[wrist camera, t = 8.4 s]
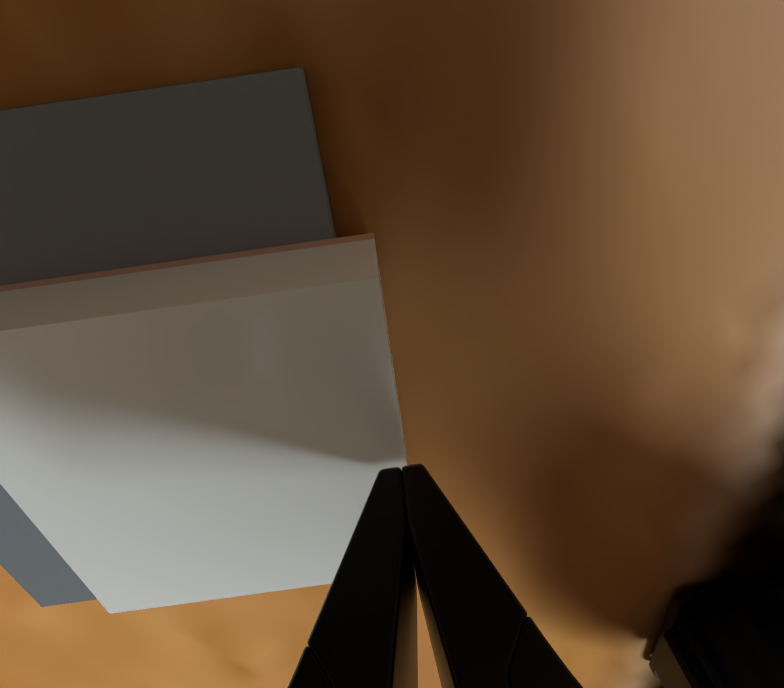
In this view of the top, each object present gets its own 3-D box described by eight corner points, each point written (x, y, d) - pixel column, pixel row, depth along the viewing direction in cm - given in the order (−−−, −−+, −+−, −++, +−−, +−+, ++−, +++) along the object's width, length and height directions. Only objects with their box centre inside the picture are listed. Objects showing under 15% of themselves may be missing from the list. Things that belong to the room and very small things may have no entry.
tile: (378, 278, 7) (-115, 347, 7) (422, 571, 11) (109, 613, 11) (373, 232, 9) (-9, 286, 9) (412, 494, 13) (147, 531, 13)
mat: (303, 67, 8) (300, 67, 8) (395, 547, 15) (396, 558, 15) (-356, 162, 8) (-387, 166, 8) (48, 594, 15) (41, 606, 15)
